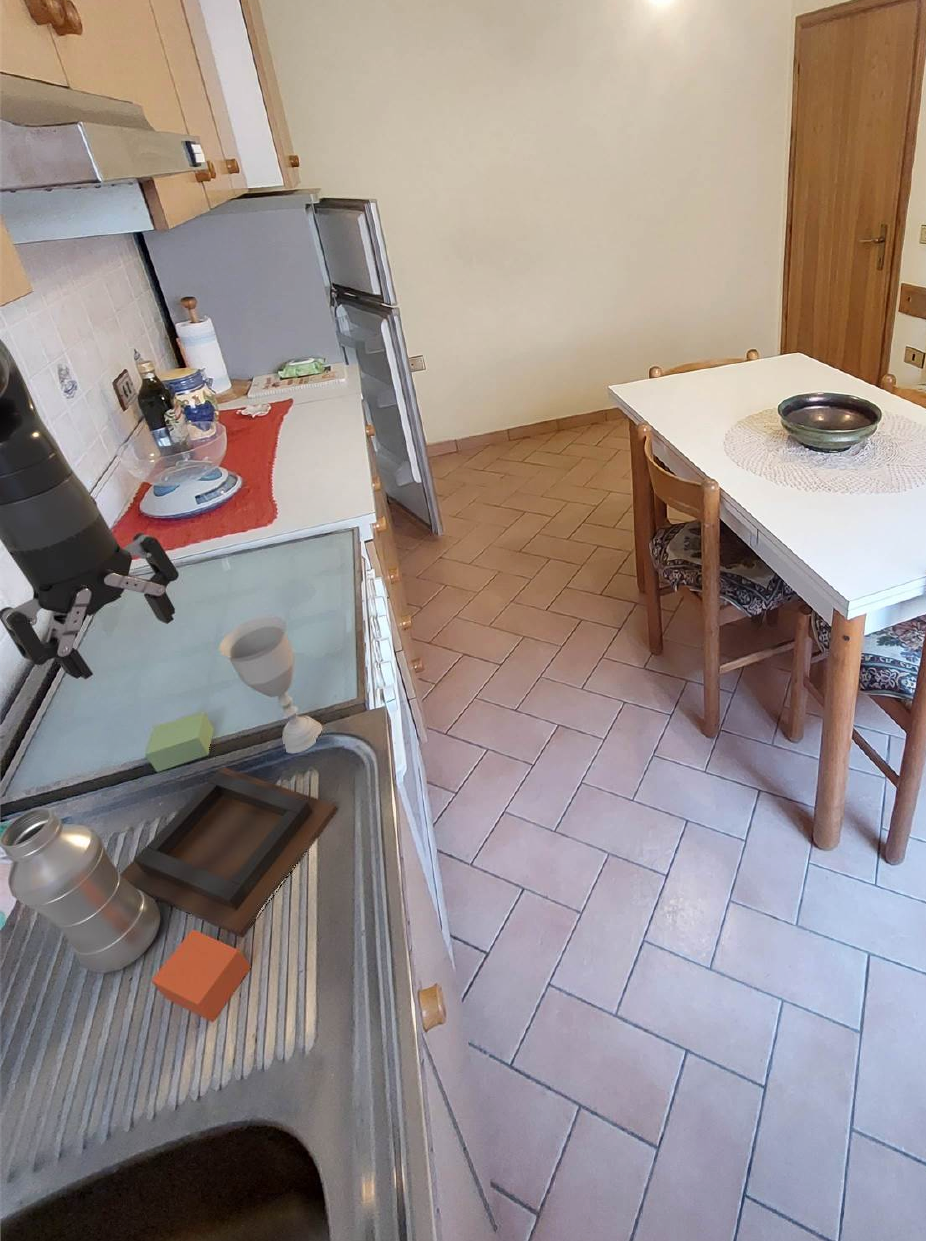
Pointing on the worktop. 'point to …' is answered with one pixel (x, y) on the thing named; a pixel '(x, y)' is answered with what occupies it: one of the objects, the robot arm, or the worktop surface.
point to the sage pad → (180, 741)
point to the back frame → (229, 849)
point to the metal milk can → (79, 890)
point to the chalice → (270, 673)
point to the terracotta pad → (201, 975)
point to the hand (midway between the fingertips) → (127, 646)
